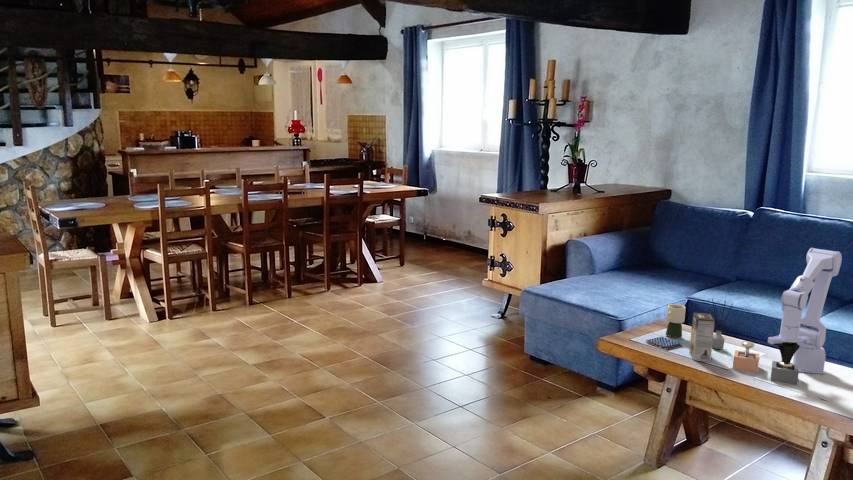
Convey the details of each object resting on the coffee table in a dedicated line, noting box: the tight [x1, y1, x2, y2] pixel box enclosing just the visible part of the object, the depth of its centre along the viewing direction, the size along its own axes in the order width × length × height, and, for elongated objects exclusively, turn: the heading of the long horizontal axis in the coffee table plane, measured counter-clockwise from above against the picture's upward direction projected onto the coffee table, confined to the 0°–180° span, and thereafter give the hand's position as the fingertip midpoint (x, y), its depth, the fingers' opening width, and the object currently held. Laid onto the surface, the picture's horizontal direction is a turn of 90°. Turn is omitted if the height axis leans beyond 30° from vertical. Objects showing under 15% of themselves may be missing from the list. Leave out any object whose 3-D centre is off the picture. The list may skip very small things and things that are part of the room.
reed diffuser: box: [711, 298, 734, 350], centre depth 260 cm, size 10×7×20 cm
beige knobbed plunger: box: [778, 360, 793, 369], centre depth 231 cm, size 5×5×6 cm
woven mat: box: [645, 336, 683, 351], centre depth 265 cm, size 10×11×2 cm
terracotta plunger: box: [739, 340, 755, 359], centre depth 241 cm, size 5×5×6 cm
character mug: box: [665, 303, 687, 339], centre depth 275 cm, size 11×7×13 cm, turn 125°
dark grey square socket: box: [770, 360, 800, 386], centre depth 231 cm, size 8×8×5 cm
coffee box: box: [688, 312, 716, 362], centre depth 250 cm, size 9×6×16 cm
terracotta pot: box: [732, 350, 760, 374], centre depth 241 cm, size 8×8×5 cm
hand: (785, 363), depth 230 cm, fingers closed, pressing on beige knobbed plunger
